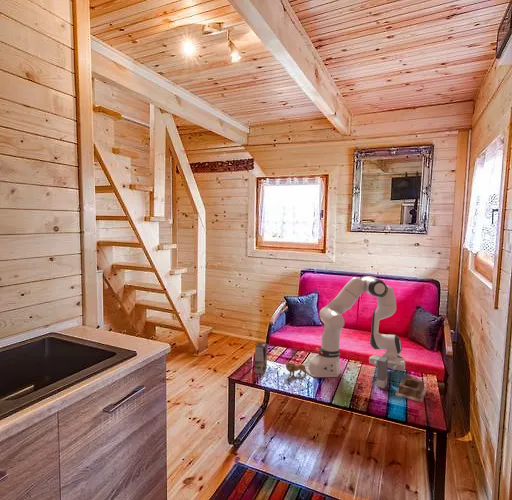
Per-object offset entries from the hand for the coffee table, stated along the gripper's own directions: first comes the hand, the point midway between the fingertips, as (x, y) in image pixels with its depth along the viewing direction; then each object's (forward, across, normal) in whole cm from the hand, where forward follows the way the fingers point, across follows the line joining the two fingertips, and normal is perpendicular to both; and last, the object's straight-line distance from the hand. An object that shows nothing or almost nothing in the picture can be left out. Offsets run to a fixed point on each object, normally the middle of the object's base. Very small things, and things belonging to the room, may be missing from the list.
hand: (384, 367), depth 191 cm
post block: (+4, +16, +9) cm, 18 cm away
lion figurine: (+24, -45, +9) cm, 52 cm away
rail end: (+4, 0, +9) cm, 10 cm away
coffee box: (+30, -66, +10) cm, 73 cm away
